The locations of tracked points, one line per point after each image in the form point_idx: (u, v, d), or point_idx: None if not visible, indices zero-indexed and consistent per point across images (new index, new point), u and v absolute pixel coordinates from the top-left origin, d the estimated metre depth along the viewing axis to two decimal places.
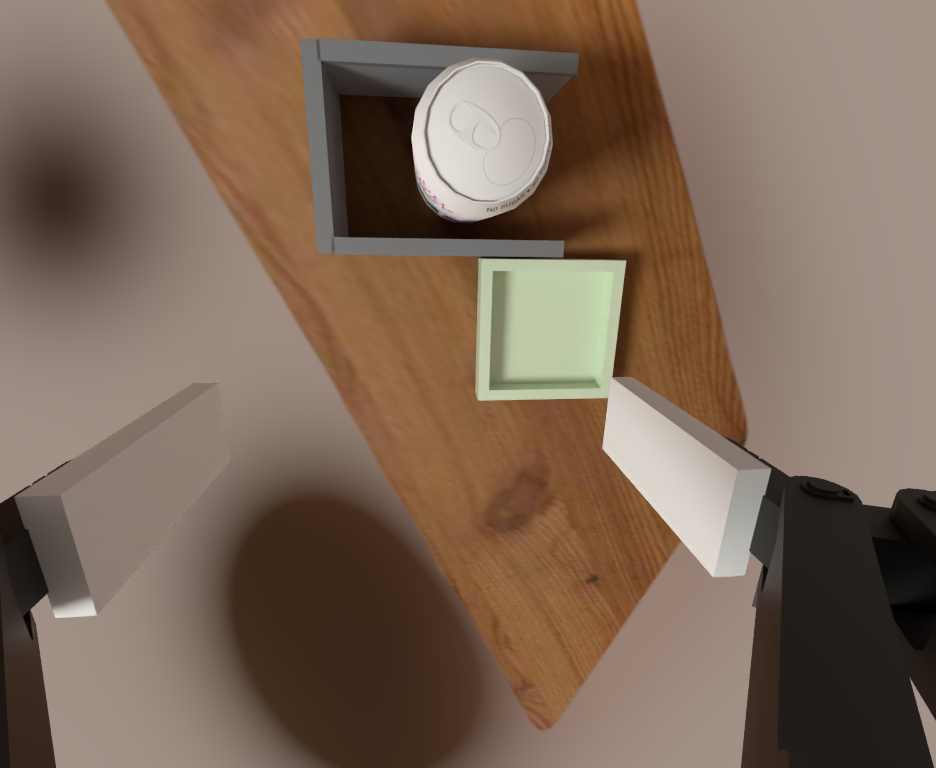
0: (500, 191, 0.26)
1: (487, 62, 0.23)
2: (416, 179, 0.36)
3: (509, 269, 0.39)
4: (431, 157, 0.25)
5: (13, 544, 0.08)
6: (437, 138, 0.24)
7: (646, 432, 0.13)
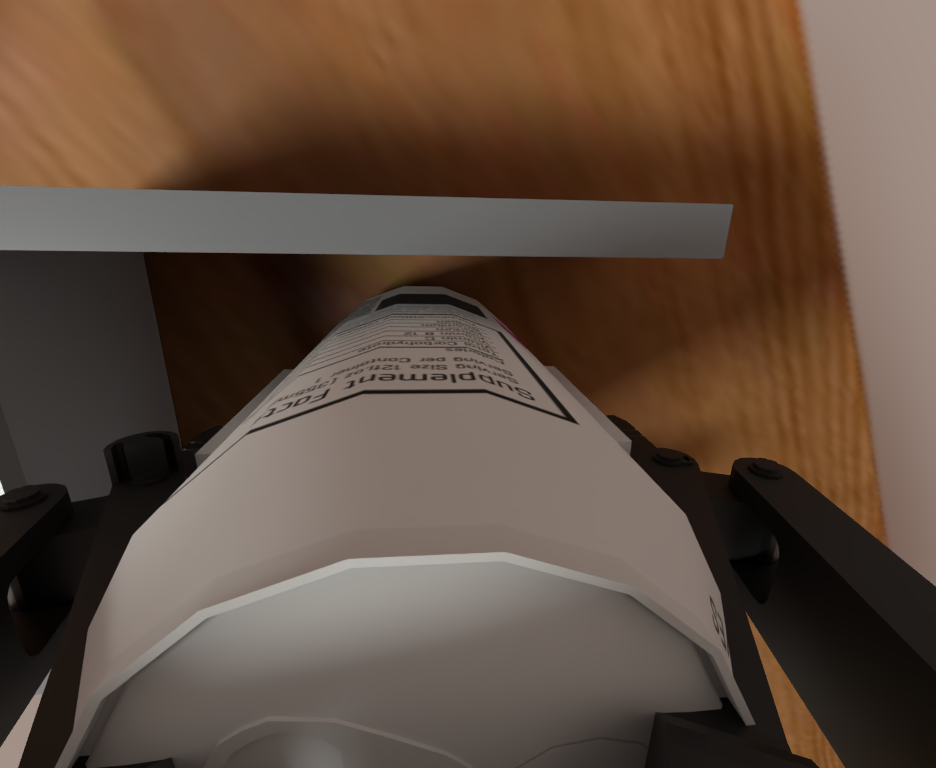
0: None
1: (414, 563, 0.03)
2: None
3: None
4: None
5: None
6: None
7: None
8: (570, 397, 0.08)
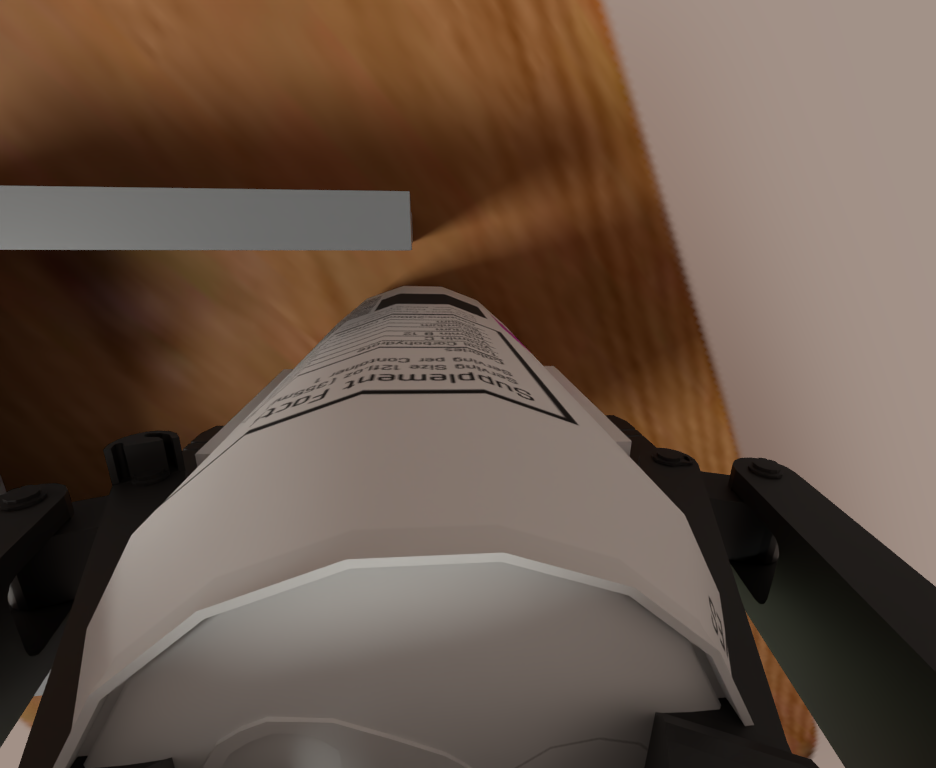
0: None
1: (413, 563, 0.03)
2: None
3: None
4: None
5: None
6: None
7: None
8: (569, 397, 0.08)
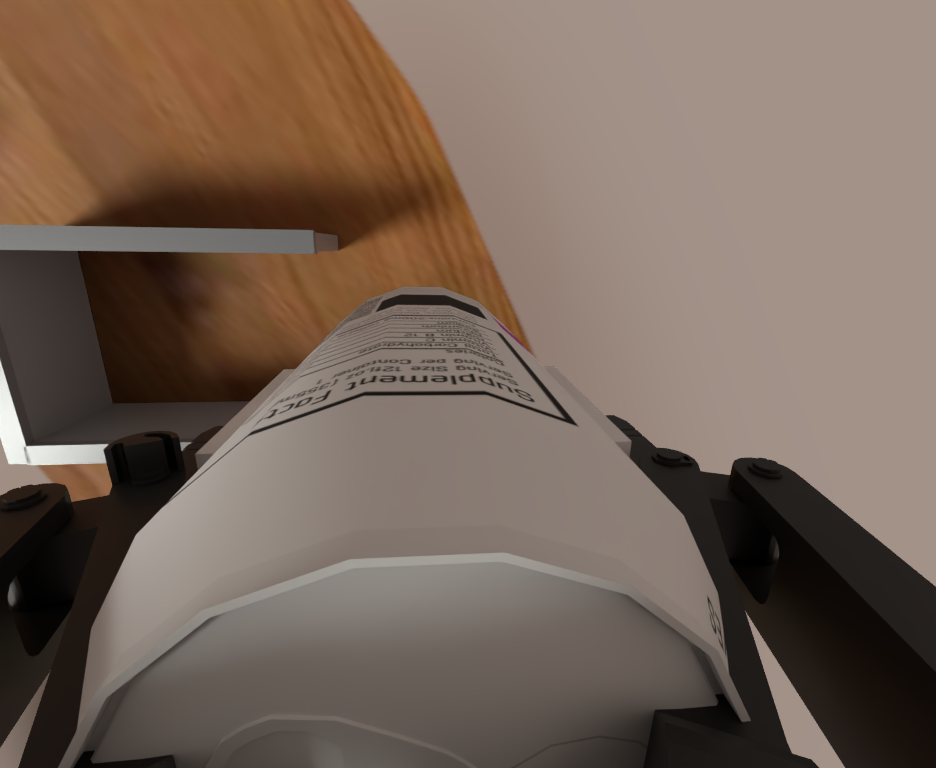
0: None
1: (415, 563, 0.04)
2: None
3: None
4: None
5: None
6: None
7: None
8: (569, 398, 0.08)
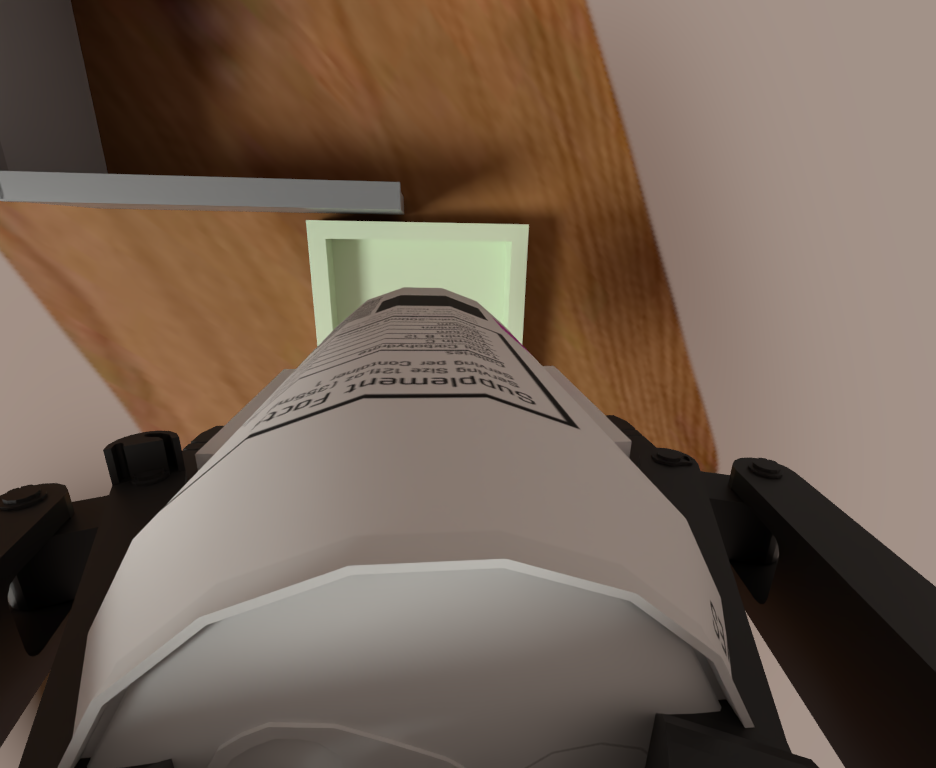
0: None
1: (415, 569, 0.03)
2: None
3: (351, 236, 0.26)
4: None
5: None
6: None
7: None
8: (570, 400, 0.08)
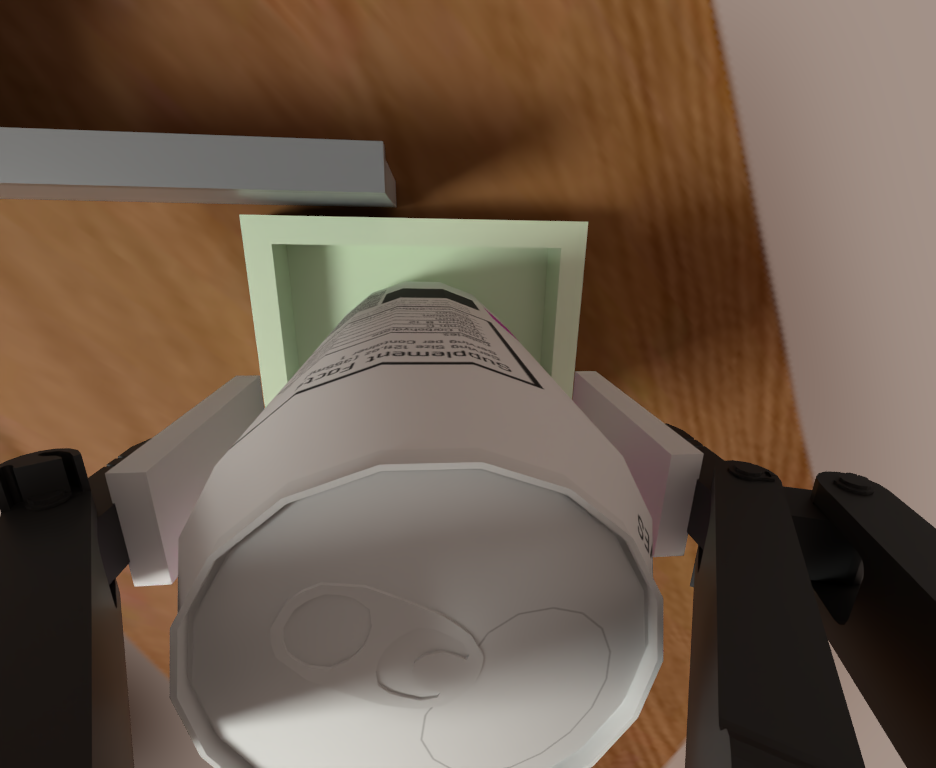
0: None
1: (423, 468, 0.05)
2: None
3: (312, 240, 0.17)
4: (224, 741, 0.07)
5: (103, 516, 0.09)
6: (240, 692, 0.06)
7: (602, 422, 0.14)
8: (545, 374, 0.10)
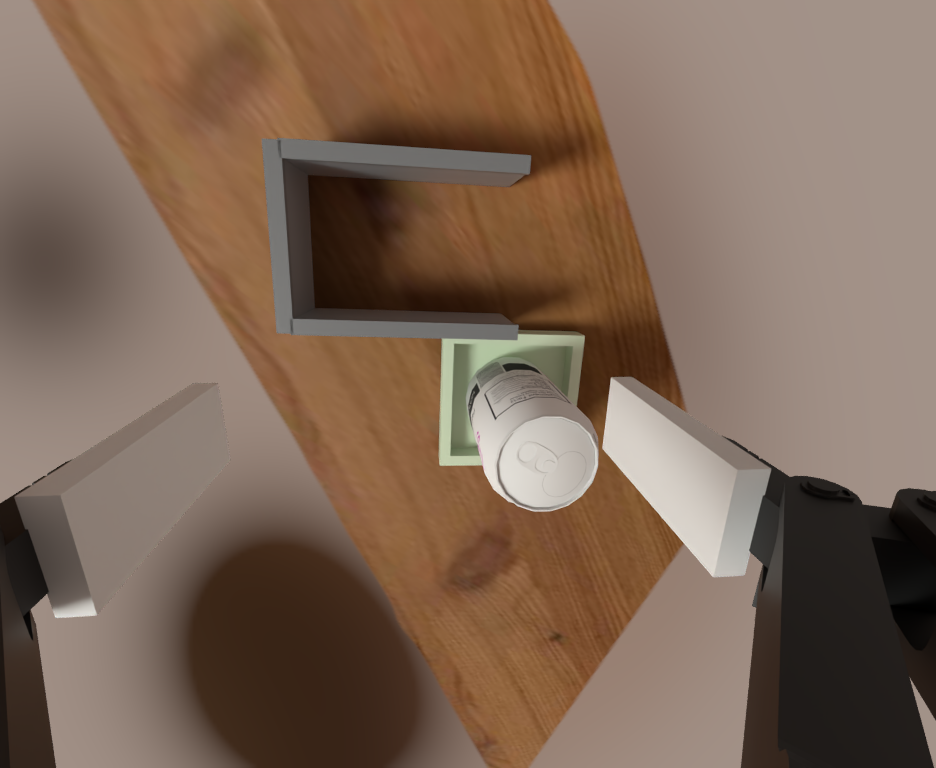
0: (554, 501, 0.31)
1: (551, 417, 0.29)
2: (469, 415, 0.41)
3: (470, 342, 0.40)
4: (500, 480, 0.30)
5: (12, 544, 0.08)
6: (506, 467, 0.30)
7: (646, 431, 0.13)
8: None
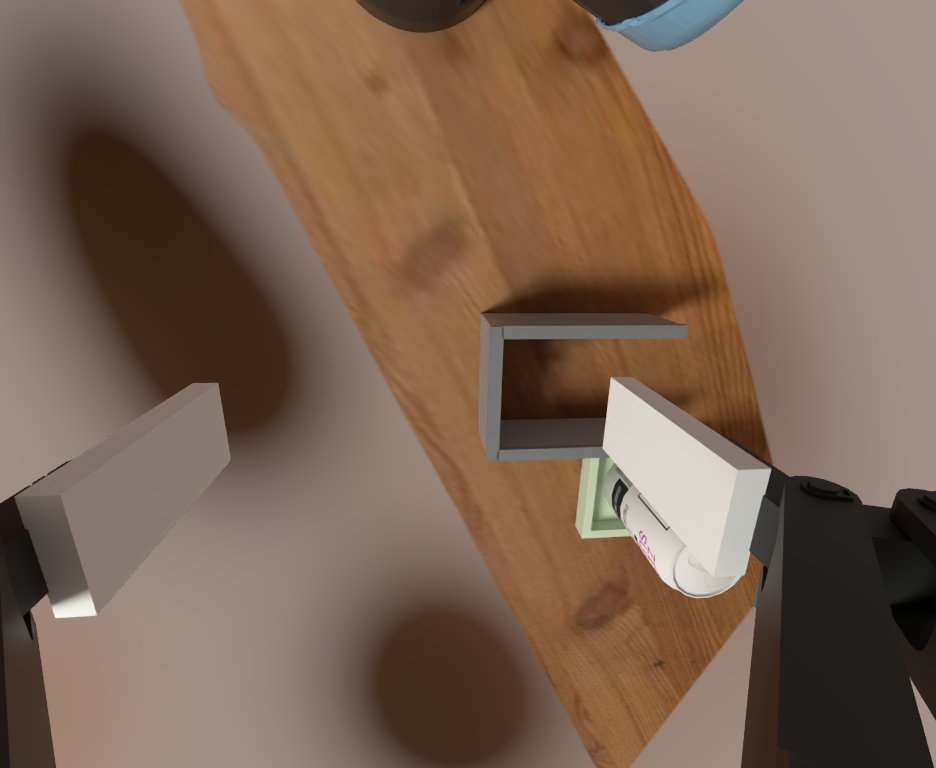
0: (712, 590, 0.41)
1: None
2: (611, 502, 0.51)
3: None
4: (674, 577, 0.40)
5: (12, 544, 0.08)
6: (679, 568, 0.40)
7: (646, 432, 0.13)
8: None
